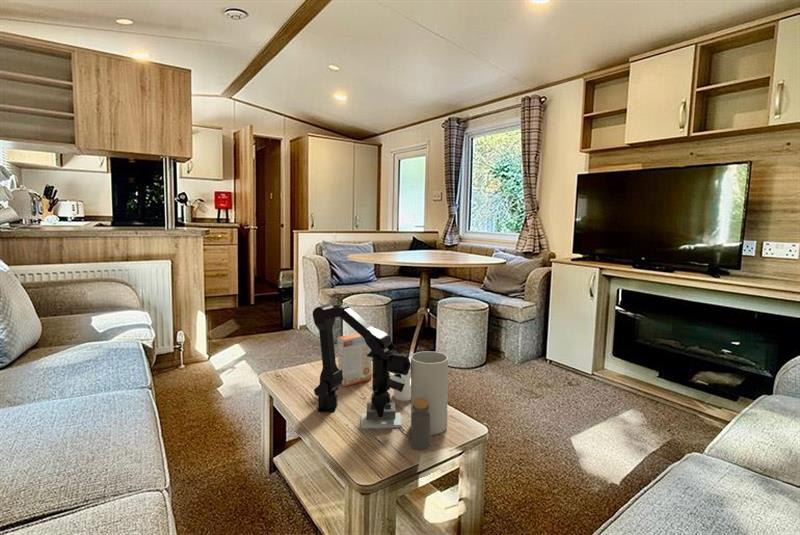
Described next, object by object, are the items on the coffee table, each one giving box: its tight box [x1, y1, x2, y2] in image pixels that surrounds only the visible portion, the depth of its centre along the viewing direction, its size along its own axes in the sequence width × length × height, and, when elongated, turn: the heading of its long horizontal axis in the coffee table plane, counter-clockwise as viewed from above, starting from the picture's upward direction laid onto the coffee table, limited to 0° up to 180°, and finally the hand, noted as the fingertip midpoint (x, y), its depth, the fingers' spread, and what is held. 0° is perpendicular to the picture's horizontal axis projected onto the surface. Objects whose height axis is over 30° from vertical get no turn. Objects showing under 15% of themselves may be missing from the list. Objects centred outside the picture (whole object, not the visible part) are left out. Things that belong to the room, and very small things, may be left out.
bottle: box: [410, 398, 431, 451], centre depth 135 cm, size 6×6×15 cm
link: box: [366, 402, 396, 420], centre depth 151 cm, size 10×7×3 cm
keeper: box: [360, 408, 402, 429], centre depth 151 cm, size 14×9×6 cm, turn 92°
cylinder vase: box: [410, 350, 449, 436], centre depth 146 cm, size 12×12×25 cm
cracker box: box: [336, 332, 373, 388], centre depth 187 cm, size 14×6×21 cm, turn 127°
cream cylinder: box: [393, 369, 411, 402], centre depth 173 cm, size 9×9×12 cm
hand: (380, 412), depth 151 cm, fingers closed on link, 7 cm apart
